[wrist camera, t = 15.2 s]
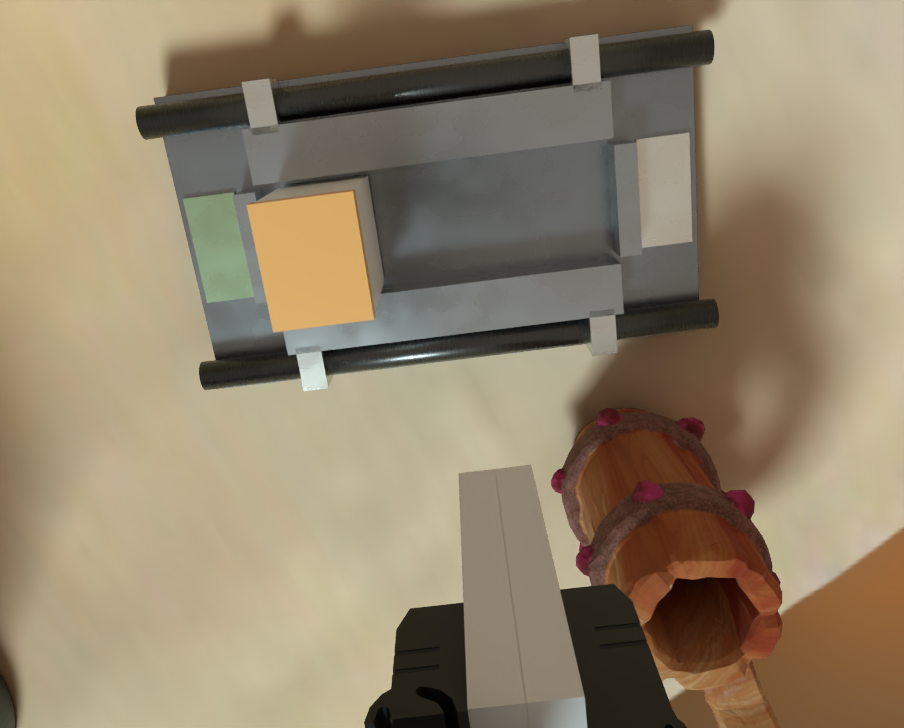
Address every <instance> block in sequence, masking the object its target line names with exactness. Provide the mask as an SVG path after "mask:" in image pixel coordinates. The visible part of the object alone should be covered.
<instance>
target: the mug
mask: <svg viewBox="0 0 904 728" xmlns="http://www.w3.org/2000/svg"><path fill="white" fill-rule="evenodd" d="M704 431H705V429H704V425H703V423H702V421H700V420H698V419H696V418H683V419H681V420H679V421H673V420H671V419H668V418H665V417H663V416H659V415H655V414H653V413H648V412H645V411H641V410H638V409H633V408H620V409H610V408H606V409H604V410H602V411H600V412H599V414H598V416H597V420H595V421H593V422H591V423H590V424H588V425H586V426H585V428H584V429H583V430H582V431H581V432H580V434H579V435H578V436H577V438H576V440H575V444H574V446H573V447H572V449H571V451H570V452H569V455H568V457H567V459H566V461H565V464H564V466H563V468H562V469H559V470H557V471H556V472H555V473H554V475H553V478H552V480H551V486H552V488H553V489H554V490H555V492H558V493H561V494H562V500H563V505H564V508H565V511H566V515H567V518H568V522H569V525H570V527H571V529H572V530H573V532H574V534H575V536H576V537H577V539H578V540H579V541H580V548H579V551H580V552H579V553H578V555H577V556H576V566H577V567H578V568H579V570H580V571H581V572H582V573H583V574H584V575H587V576H589V578H590V582H591V586H598V585H606V584H614V585H615V586H616V587H618V588H619V589H620V590H621V591H622V592H623V593H624V594H625V595H626V596H628V597H629V598H630V599H631V600H632V601H633V604H634V607H635V610H636V612H637V615H638V618H639V620H640V625H641V626H642V629H643V631H644V634H645V637H646V639H647V644H648V645H649V648H650V650H651V653H652V656H653V659H654V661H655V664H656V667H657V669H658V672H659V675H660V678H661V680H662V681H663V680H665V679H667V678H674V679H675V680H676V681H678V682H679V683H680V684H681V685H682V686H683V687H684V688H685V689H688V690H703V691H704V693H705V701H706V702H707V703H709V704H710V707H711V709H712V712H713V714H714V717H715V719H716V722H717V724H718V727H719V728H780V726H779V723H778V721H777V719H776V717H775V715H774V713H773V710H772V708H771V706H770V704H769V702H768V699H767V697H766V695H765V693H764V691H763V689H762V686H761V684H760V682H759V680H758V678H757V675H756V672H755V669H754V666H753V663H752V659H753V658H765V657H768V656H769V655H770V654H771V652H772V650H773V649H774V647H775V645H776V644H777V642H778V640H779V639H780V637H781V633H782V620H781V618H780V615H779V613H778V609H779V607H780V606H781V604H782V591H781V588H780V583H781V582H780V581H779V579H778V577H777V575H776V573H774V572H773V571H772V561H771V558H770V554H769V550H768V548H767V545H766V543H765V541H764V539H763V537H762V535H761V534H760V532H759V531H758V529H757V528H756V527H755V525H754V524H753V522H752V521H751V520H750V519H751V517H752V515H753V513H754V505H755V502H754V500H753V499H752V497H751V496H750V495H749V494H748V493H747V492H746V491H745V490H731V491H729V492H727V493H725V492H724V491H722V490H721V488H720V481H719V478H718V474H717V471H716V469H715V467H714V465H713V462H712V460H711V458H710V456H709V454H708V453H707V451H706V450H705V448H704V447H703V445H702V444H701V442H700V441H701V439H702V437H703V434H704Z"/></svg>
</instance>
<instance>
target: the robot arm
mask: <svg viewBox="0 0 904 728" xmlns="http://www.w3.org/2000/svg"><path fill="white" fill-rule="evenodd" d="M459 495H460V521H461V548H462V575H463V601H464V603H456V604H447V605H439V606H430V607H421V608H412V609H410V610H409V611H408V613H407V614H406V616H405V617H404V619H403V620H402V622H401V623H400V625H399V626H398V628H397V631H396V642H395V656H394V665H393V676H392V687H391V689H390V690H389V691H387V692H385V693H383V694H382V695H381V696H380V697H379V698H378V699H377V700H376V701H375V702H374V703H373V705H372V706H371V707H370V708H369V711H368V714H367V716H366V719H365V722H364V724H365V728H687V727H686V726H685V724H684V723H683V722H681V721H680V720H679V719H677V717H676V715H675V713H674V711H673V710H672V707H671V705H670V702H669V699H668V697H667V694H666V691H665V688H664V686H663V683H662V680H661V678H660V675H659V672H658V669H657V667H656V664H655V661H654V659H653V656H652V653H651V650H650V648H649V645H648V644H647V639H646V637H645V634H644V631H643V629H642V626H641V625H640V620H639V618H638V615H637V612H636V610H635V607H634V604H633V601H632V600H631V599H630V598H629V597H628V596H626V595H625V594H624V593H623V592H622V591H621V590H620V589H619V588H618V587H616V586H615V585H614V584H606V585H598V586H589V587H580V588H571V589H562V590H560V588H559V584H558V579H557V575H556V571H555V566H554V562H553V558H552V553H551V549H550V545H549V540H548V536H547V532H546V527H545V523H544V519H543V514H542V510H541V506H540V501H539V497H538V493H537V488H536V484H535V480H534V475H533V471H532V467H531V465H526V466H517V467H509V468H500V469H492V470H483V471H475V472H466V473H459ZM0 728H15V714H14V708H13V704H12V700H11V697H10V694H9V692H8V689H7V687H6V685H5V683H4V681H3V679H2V677H1V676H0Z"/></svg>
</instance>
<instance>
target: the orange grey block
mask: <svg viewBox="0 0 904 728" xmlns="http://www.w3.org/2000/svg"><path fill="white" fill-rule="evenodd" d="M247 210H248V215H249V219H250V224H251V229H252V234H253V238H254V243H255V248H256V253H257V257H258V262H259V267H260V272H261V277H262V281H263V286H264V291H265V296H266V300H267V305H268V310H269V315H270V319H271V324H272V329H273V332H280V331H288V330H296V329H304V328H312V327H320V326H328V325H336V324H344V323H352V322H360V321H368V320H374V319H375V315H376V314H375V310H376V307H377V303H378V300H379V297H380V294H381V291H382V287H383V284H384V274H383V268H382V262H381V255H380V249H379V243H378V236H377V230H376V224H375V218H374V211H373V205H372V199H371V192H370V186H369V180H368V175H363V176H356V177H348V178H340V179H333V180H325V181H318V182H310V183H302V184H295V185H287V186H281V187H280V188H278V189H276V190H274V191H273V192H271V193H269V194H268V195H266V196H264V197H263V198H261V199H259V200H258V201H256V202H251V203H249V204H247Z"/></svg>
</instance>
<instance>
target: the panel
mask: <svg viewBox="0 0 904 728" xmlns="http://www.w3.org/2000/svg"><path fill="white" fill-rule="evenodd" d="M713 57H714V38H713V34H712V32H711V30H703V31H696V32H692V25H689V26H682V27H674V28H667V29H659V30H652V31H645V32H637V33H630V34H622V35H615V36H608V37H600V38H598V34H593V35H586V36H578V37H571V38H568V39H565V40H564V42H563V43H556V44H549V45H541V46H534V47H526V48H519V49H512V50H504V51H497V52H490V53H482V54H475V55H467V56H460V57H453V58H445V59H438V60H430V61H423V62H416V63H408V64H401V65H394V66H386V67H379V68H371V69H364V70H357V71H349V72H342V73H334V74H327V75H320V76H312V77H305V78H298V79H290V80H283V81H277V79H271V78H268V79H261V80H254V81H246V82H241V83H242V86H238V87H231V88H224V89H216V90H209V91H202V92H194V93H187V94H179V95H172V96H165V97H157V98H154V101H155V105H148V106H141V107H137V109H136V122H137V126H138V129H139V132H140V134H141V135H142V137H143V138H144V139H146V140H147V139H155V138H162V137H163V139H164V143H165V148H166V152H167V156H168V160H169V165H170V169H171V173H172V177H173V181H174V186H175V190H176V194H177V198H178V202H179V207H180V211H181V215H182V219H183V223H184V228H185V232H186V236H187V240H188V244H189V249H190V253H191V257H192V261H193V266H194V270H195V274H196V278H197V282H198V287H199V291H200V295H201V299H202V303H203V308H204V312H205V316H206V320H207V324H208V329H209V333H210V337H211V341H212V345H213V350H214V354H215V358H216V360H214V361H206V362H201V364H200V367H199V376H200V381H201V385H202V387H203V388H204V389H205V390H211V389H219V388H231V387H239V386H247V385H255V384H264V383H272V382H280V381H288V380H296V379H301V380H302V385H303V390H304V391H310V390H318V389H326V388H329V385H330V383H331V380H332V377H333V376H332V375H337V374H345V373H353V372H361V371H369V370H377V369H386V368H394V367H402V366H410V365H418V364H426V363H434V362H443V361H451V360H459V359H467V358H475V357H483V356H491V355H500V354H508V353H516V352H524V351H532V350H540V349H548V348H557V347H565V346H573V345H581V344H587V347H588V349H589V351H590V352H591V354H592V356H596V355H604V354H612V353H618V351H617V340H622V339H630V338H638V337H646V336H654V335H662V334H670V333H679V332H687V331H695V330H700V329H707V328H715V327H717V326H718V322H719V313H718V307H717V304H716V301H715V300H714V299H705V300H699V283H698V243H697V202H696V162H695V122H694V81H693V66H701V65H708V64H711V63H712V60H713ZM363 175H368V180H369V186H370V192H371V199H372V205H373V211H374V218H375V224H376V230H377V236H378V243H379V249H380V255H381V262H382V268H383V274H384V284H383V287H382V291H381V294H380V297H379V300H378V303H377V307H376V310H375V314H376V315H375V319H374V320H368V321H360V322H352V323H344V324H336V325H328V326H320V327H312V328H304V329H296V330H288V331H280V332H273V329H272V324H271V319H270V315H269V310H268V305H267V300H266V296H265V291H264V286H263V281H262V277H261V272H260V267H259V262H258V257H257V253H256V248H255V243H254V238H253V234H252V229H251V224H250V219H249V215H248V210H247V204H249V203H251V202H256V201H258V200H259V199H261V198H263V197H264V196H266V195H268V194H269V193H271V192H273V191H274V190H276V189H278V188H280V187H281V186H287V185H295V184H302V183H310V182H318V181H325V180H333V179H340V178H348V177H356V176H363Z"/></svg>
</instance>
